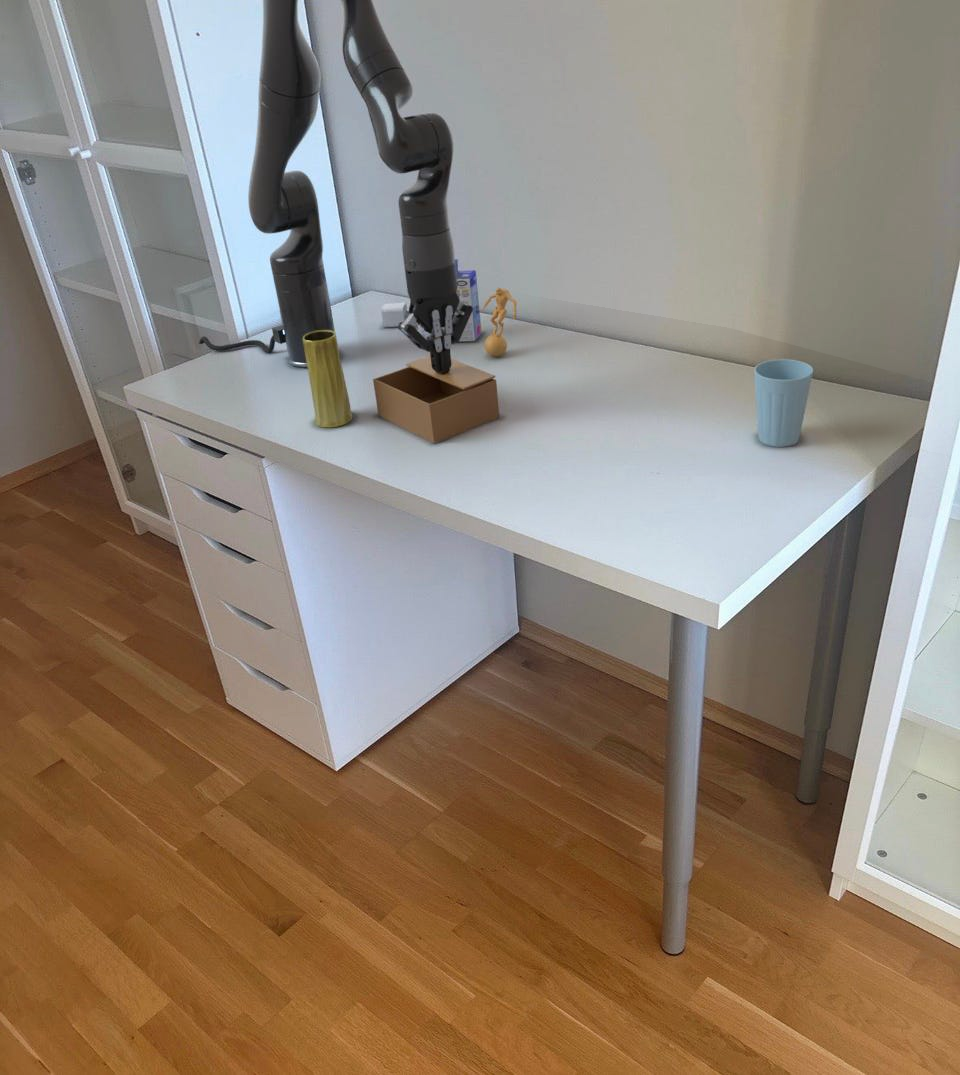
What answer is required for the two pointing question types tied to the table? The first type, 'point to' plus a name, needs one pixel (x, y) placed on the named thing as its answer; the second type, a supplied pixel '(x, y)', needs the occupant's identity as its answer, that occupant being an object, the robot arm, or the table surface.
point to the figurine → (496, 342)
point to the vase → (326, 379)
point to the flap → (453, 373)
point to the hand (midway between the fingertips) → (442, 372)
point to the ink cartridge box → (469, 302)
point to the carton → (434, 404)
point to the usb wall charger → (394, 314)
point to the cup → (781, 400)
